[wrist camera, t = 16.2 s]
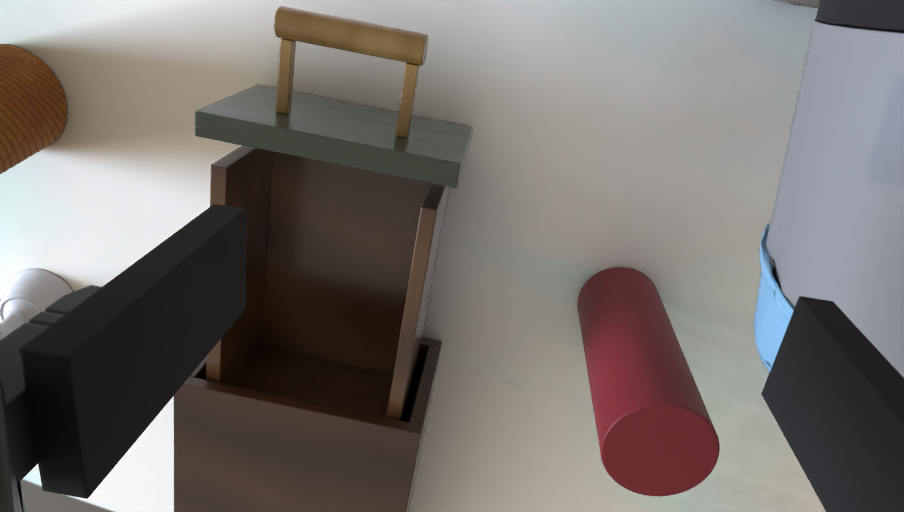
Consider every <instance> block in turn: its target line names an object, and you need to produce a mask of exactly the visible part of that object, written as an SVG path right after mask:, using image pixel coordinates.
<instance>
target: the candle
mask: <svg viewBox="0 0 904 512" xmlns="http://www.w3.org/2000/svg"><path fill="white" fill-rule="evenodd" d="M578 313H579V319H580V326H581V332H582V338H583V345H584V351H585V357H586V364H587V370H588V376H589V383H590V389H591V395H592V402H593V408H594V414H595V421H596V427H597V433H598V440H599V446H600V452H601V459H602V462H603V465H604V467H605V469H606V471H607V472H608V474H609V475H610V476H611V477H612V478H613V479H614V480H615V481H616V482H617V483H618V484H619V485H621V486H623V487H624V488H626V489H628V490H630V491H632V492H635V493H638V494H643V495H649V496H668V495H674V494H678V493H681V492H684V491H687V490H689V489H691V488H693V487H695V486H696V485H698V484H699V483H701V482H702V481H703V480H704V479H705V478H706V477H707V476H708V475H709V474H710V473H711V471H712V470H713V468H714V467H715V465H716V462H717V459H718V456H719V440H718V436H717V434H716V431H715V429H714V426H713V424H712V422H711V419H710V417H709V414H708V412H707V410H706V407H705V405H704V402H703V400H702V398H701V395H700V393H699V390H698V388H697V386H696V383H695V381H694V378H693V376H692V373H691V371H690V369H689V366H688V364H687V361H686V359H685V357H684V354H683V352H682V349H681V347H680V345H679V342H678V340H677V337H676V335H675V332H674V330H673V328H672V325H671V323H670V320H669V318H668V316H667V313H666V311H665V308H664V306H663V304H662V301H661V299H660V296H659V294H658V291H657V289H656V287H655V285H654V284H653V282H652V281H651V280H650V279H649V278H648V277H647V276H645V275H644V274H643V273H641V272H639V271H636V270H633V269H629V268H611V269H607V270H604V271H601V272H599V273H597V274H596V275H594V276H593V277H591V278H590V279H589V280H588V281H587V282H586V283H585V285H584V286H583V288H582V289H581V291H580V294H579V297H578Z"/></svg>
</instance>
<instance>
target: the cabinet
mask: <svg viewBox="0 0 904 512" xmlns="http://www.w3.org/2000/svg"><path fill="white" fill-rule="evenodd" d="M441 345H442V342H441V341H436V340H432V339H427V338H422V341H421V347H420V352H419V358H418V363H417V369H416V374H415V380H414V384H413V388H412V391H411V395H410V399H409V403H408V406H407V410H406V414H405V417H404V421H400V420H395V419H390V418H385V417H380V416H376V415H371V414H366V413H361V412H356V411H352V410H347V409H342V408H337V407H332V406H328V405H323V404H318V403H313V402H308V401H304V400H299V399H294V398H289V397H284V396H280V395H275V394H270V393H265V392H260V391H256V390H251V389H246V388H241V387H236V386H232V385H227V384H222V383H217V382H212V381H208V380H206V366H207V356H206V357H205V359H204V360H203V361H202V362H201V363H200V365H199V366H198V367H197V368H196V369H195V371H194V372H193V373H192V374H191V375H190V377H189V378H188V379H187V380H186V381H185V383H184V384H183V385H182V386H181V387H180V389H179V390H178V391H177V392H176V393H175V395H174V512H409V508H410V503H411V498H412V493H413V488H414V483H415V477H416V472H417V467H418V462H419V457H420V452H421V447H422V442H423V437H424V432H425V427H426V421H427V416H428V411H429V406H430V401H431V396H432V391H433V386H434V381H435V376H436V371H437V365H438V360H439V355H440V350H441Z"/></svg>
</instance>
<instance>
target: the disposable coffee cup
mask: <svg viewBox="0 0 904 512" xmlns="http://www.w3.org/2000/svg"><path fill="white" fill-rule="evenodd" d="M66 120H67V103H66V98H65V95H64V92H63V89H62V86H61V85H60V83H59V81H58V80H57V78H56V76H55V75H54V73H53V72H52V71H51V70H50V68H49V67H48V66H47V65H46V64H45V63H44V62H43V61H42V60H40V59H39V58H38V57H37V56H35V55H33V54H32V53H30V52H29V51H27V50H25V49H22V48H20V47H17V46H13V45H7V44H0V174H1V173H3V172H5V171H7V170H8V169H9V168H12V167H14V166H15V165H16V164H19V163H20V162H21V161H23V160H25V159H27V158H28V157H29V156H32V155H33V154H35V153H36V152H39V151H40V150H42V149H44V148H45V147H47V146H49V145H51V144H52V143H53V142H55V141H56V140H57V139H58V138H59V137H60V135H61V134H62V132H63V130H64V127H65V124H66Z"/></svg>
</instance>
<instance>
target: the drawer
mask: <svg viewBox="0 0 904 512" xmlns="http://www.w3.org/2000/svg"><path fill="white" fill-rule="evenodd" d="M274 30H275V34H276V36H277V37H279V38H283V39H281V40H280V54H279V70H278V86H277V88H275V87H270V86H265V85H260V84H258V85H256V86H253V87H251V88H249V89H246V90H244V91H241V92H239V93H237V94H234V95H232V96H230V97H227V98H225V99H223V100H220V101H218V102H216V103H213V104H211V105H209V106H206V107H204V108H201V109H199V110H197V111H196V112H195V136H198V137H203V138H208V139H213V140H218V141H223V142H228V143H233V144H238V145H243V146H241V147H239V148H238V149H236V150H235V151H233V152H231V153H230V154H228V155H226V156H225V157H223V158H222V159H220V160H218V161H217V162H215V163H213V164H212V165H211V188H210V207H211V206H212V205H214V204H219V205H225V206H231V207H238V208H244V209H246V310H245V311H244V312H243V313H242V314H241V316H240V317H239V318H238V319H237V320H236V322H235V323H234V324H233V325H232V326H231V328H230V329H229V330H228V331H227V332H226V333H225V335H224V336H223V337H222V338H221V339H220V341H219V342H218V343H217V344H216V345H215V347H214V348H213V349H212V350H211V351H210V353H209V354H208V355H207V366H206V380H208V381H212V382H217V383H222V384H227V385H232V386H236V387H241V388H246V389H251V390H256V391H260V392H265V393H270V394H275V395H280V396H284V397H289V398H294V399H299V400H304V401H308V402H313V403H318V404H323V405H328V406H332V407H337V408H342V409H347V410H352V411H356V412H361V413H366V414H371V415H376V416H380V417H385V418H390V419H395V420H400V421H404V417H405V414H406V410H407V406H408V403H409V399H410V395H411V391H412V388H413V384H414V380H415V374H416V369H417V363H418V358H419V352H420V347H421V341H422V335H423V330H424V324H425V319H426V313H427V308H428V302H429V297H430V291H431V286H432V280H433V275H434V269H435V264H436V258H437V253H438V247H439V242H440V236H441V231H442V225H443V220H444V214H445V208H446V203H447V197H448V192H449V187H454V188H456V187H457V185H458V181H459V178H460V175H461V172H462V169H463V166H464V162H465V159H466V156H467V153H468V150H469V146H470V141H471V136H472V131H473V127H472V126H468V125H463V124H458V123H453V122H448V121H443V120H437V119H432V118H427V117H422V116H417V115H412V112H413V106H414V99H415V92H416V86H417V79H418V72H419V65H423V64H424V62H425V58H426V53H427V47H428V35H427V34H422V33H417V32H411V31H406V30H401V29H396V28H391V27H386V26H381V25H375V24H370V23H365V22H360V21H355V20H350V19H345V18H339V17H334V16H329V15H324V14H319V13H314V12H309V11H303V10H298V9H293V8H288V7H283V6H281V7H279V8H278V9H277V12H276V15H275V20H274ZM296 41H299V42H304V43H309V44H314V45H319V46H325V47H330V48H335V49H340V50H345V51H350V52H355V53H360V54H365V55H371V56H376V57H381V58H386V59H391V60H396V61H401V62H406V64H405V71H404V78H403V85H402V92H401V99H400V106H399V112H397V111H392V110H387V109H382V108H377V107H372V106H367V105H361V104H356V103H351V102H346V101H341V100H336V99H331V98H326V97H321V96H316V95H311V94H306V93H301V92H296V91H292V88H293V74H294V61H295V47H296Z"/></svg>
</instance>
